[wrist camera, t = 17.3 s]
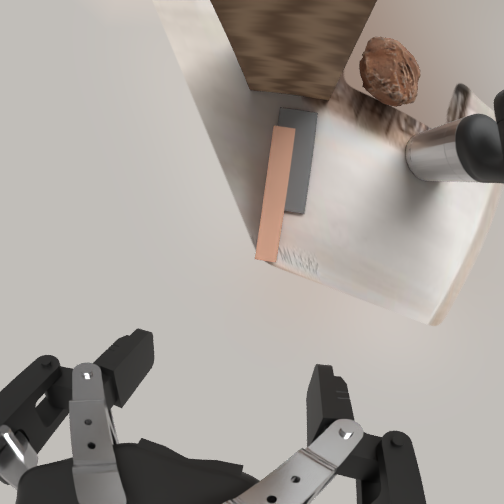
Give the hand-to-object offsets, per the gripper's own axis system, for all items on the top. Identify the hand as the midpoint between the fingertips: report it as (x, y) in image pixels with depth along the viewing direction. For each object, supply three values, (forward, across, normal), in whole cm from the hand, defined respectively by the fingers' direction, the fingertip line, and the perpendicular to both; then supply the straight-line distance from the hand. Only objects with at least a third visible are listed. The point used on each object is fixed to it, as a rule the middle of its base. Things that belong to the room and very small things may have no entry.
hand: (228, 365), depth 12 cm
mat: (+38, -2, -13) cm, 40 cm away
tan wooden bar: (+37, +1, -7) cm, 38 cm away
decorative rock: (+38, -17, -32) cm, 53 cm away
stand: (+38, 0, -32) cm, 50 cm away
